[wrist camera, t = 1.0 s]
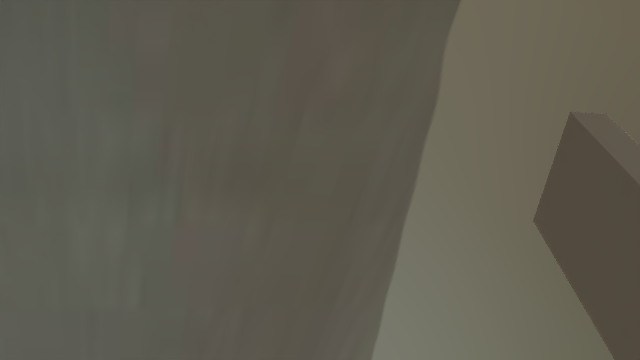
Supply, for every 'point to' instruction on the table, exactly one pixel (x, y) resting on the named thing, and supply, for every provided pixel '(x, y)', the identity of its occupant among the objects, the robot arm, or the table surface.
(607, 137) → the robot arm
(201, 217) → the table surface
